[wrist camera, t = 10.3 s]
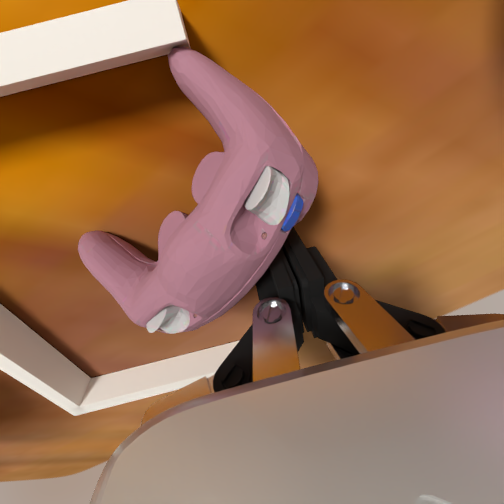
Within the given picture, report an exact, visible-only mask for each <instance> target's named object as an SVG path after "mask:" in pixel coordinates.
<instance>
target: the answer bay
mask: <svg viewBox="0 0 504 504" xmlns="http://www.w3.org/2000/svg"><path fill="white" fill-rule="evenodd" d="M175 47H186V48H189V49H191V47H190V44H189V40H188V36H187V32H186V29H185V25H184V21H183V18H182V14H181V10H180V8H179V5H178V2H177V0H129V1H125V2H121V3H117V4H113V5H109V6H105V7H101V8H97V9H93V10H89V11H85V12H82V13H78V14H74V15H70V16H66V17H62V18H58V19H54V20H50V21H46V22H42V23H38V24H34V25H30V26H26V27H22V28H19V29H15V30H11V31H7V32H3V33H0V97H2V96H6V95H10V94H14V93H17V92H21V91H25V90H29V89H33V88H37V87H41V86H45V85H49V84H53V83H57V82H61V81H65V80H69V79H73V78H77V77H80V76H84V75H88V74H92V73H96V72H100V71H104V70H108V69H112V68H116V67H120V66H124V65H128V64H132V63H136V62H140V61H143V60H147V59H151V58H155V57H159V56H163V55H167V54H169V52H170V51H171V50H172V49H173V48H175ZM239 341H240V340H239ZM239 341H235V342H231V343H227V344H224V345H220V346H216V347H212V348H208V349H204V350H200V351H196V352H192V353H188V354H184V355H180V356H176V357H173V358H169V359H165V360H161V361H157V362H153V363H149V364H145V365H141V366H137V367H133V368H129V369H126V370H122V371H118V372H114V373H110V374H106V375H102V376H98V377H94V378H90V377H89V376H88V375H87V374H85V373H84V372H83V371H82V370H80V369H79V368H78V367H77V366H76V365H74V364H73V363H72V362H71V361H69V360H68V359H67V358H66V357H65V356H63V355H62V354H61V353H60V352H59V351H57V350H56V349H55V348H54V347H52V346H51V345H50V344H49V343H48V342H46V341H45V340H44V339H43V338H42V337H40V336H39V335H38V334H37V333H35V332H34V331H33V330H32V329H31V328H29V327H28V326H27V325H26V324H24V323H23V322H22V321H21V320H20V319H18V318H17V317H16V316H15V315H14V314H12V313H11V312H10V311H9V310H7V309H6V308H5V307H4V306H3V305H1V304H0V370H2V371H4V372H5V373H7V374H8V375H10V376H12V377H13V378H15V379H16V380H18V381H20V382H21V383H23V384H24V385H26V386H28V387H29V388H31V389H32V390H34V391H36V392H37V393H39V394H40V395H42V396H44V397H45V398H47V399H48V400H50V401H52V402H53V403H55V404H56V405H58V406H60V407H61V408H63V409H64V410H66V411H68V412H69V413H71V414H72V415H74V416H76V415H80V414H84V413H88V412H92V411H96V410H100V409H104V408H108V407H111V406H115V405H119V404H123V403H127V402H131V401H135V400H139V399H143V398H147V397H151V396H155V395H158V394H162V393H166V392H170V391H174V390H178V389H181V388H183V387H185V386H187V385H189V384H191V383H193V382H195V381H197V380H199V379H201V378H203V377H205V376H206V377H207V378H209V377H211V376H213V375H215V373H216V371H217V369H218V368H219V366H220V365H221V364H222V363H223V361H224V360H225V359H226V357H227V356H228V355H229V354H230V352H231V351H232V350H233V348H234V347H235V346H236V345H237V343H238V342H239Z"/></svg>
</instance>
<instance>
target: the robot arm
mask: <svg viewBox="0 0 504 504" xmlns="http://www.w3.org/2000/svg"><path fill="white" fill-rule="evenodd" d="M256 287H257V292H258V296H259V300H260V302H259V303H258V304H257V305H256V306H255V308H254V310H253V324H252V325H251V327H250V328H249V329H248V331H247V332H246V333H245V334H244V336H243V337H242V338H241V340H240V341H239V342H238V343H237V345H236V346H235V347H234V348H233V350H232V351H231V352H230V354H229V355H228V356H227V357H226V359H225V360H224V361H223V363H222V364H221V365H220V366H219V368H218V369H217V371H216V373H215V375H213V376H211V377H209V378H207V377H206V376H205V377H203V378H201V379H199V380H197V381H195V382H193V383H191V384H189V385H187V386H185V387H183V388H181V389H179V390H177V391H175V392H173V393H171V394H169V395H167V396H165V397H163V398H161V399H159V400H157V401H156V402H155V403H153V404H152V405H151V406H150V407H149V408H148V409H147V411H146V412H145V414H144V416H143V418H142V421H141V427H139V428H138V429H137V430H136V431H134V432H133V433H132V434H131V435H130V436H129V437H128V438H127V439H125V440H124V441H123V442H122V443H121V444H120V445H119V447H118V448H117V449H116V450H115V451H114V453H113V454H112V455H111V457H110V459H109V460H108V462H107V464H106V466H105V467H104V469H103V472H102V474H101V476H100V478H99V480H98V483H97V485H96V488H95V490H94V493H93V495H92V498H91V501H90V504H504V314H478V315H460V316H459V315H457V316H437V319H434V320H433V319H432V318H430V317H427V316H425V315H422V314H419V313H416V312H412V311H409V310H406V309H403V308H399V307H396V306H393V305H390V304H386V303H383V302H380V301H377V300H374V299H373V298H372V297H371V296H370V295H369V294H368V293H367V292H366V291H365V290H364V289H363V288H362V287H361V286H360V285H358V284H357V283H355V282H353V281H350V280H337V278H336V277H335V275H334V274H333V272H332V271H331V269H330V268H329V266H328V265H327V263H326V262H325V260H324V259H323V257H322V256H321V254H320V253H319V251H318V250H317V248H316V247H310V248H306V247H305V246H304V244H303V242H302V241H301V239H300V237H299V236H298V234H297V232H296V231H295V229H294V227H292V228H291V230H290V232H289V234H288V236H287V238H286V240H285V242H284V244H283V246H282V247H281V249H280V251H279V252H278V254H277V255H276V257H275V258H274V260H273V261H272V263H271V264H270V266H269V267H268V268H267V270H266V271H265V273H264V274H263V276H262V277H261V278H260V279H259V280H258V281H257V282H256ZM303 323H304V325H305V328H306V330H307V332H309V331H312V334H313V336H314V338H316V337H318V338H319V339H322V340H324V341H326V344H327V346H328V348H329V349H330V351H331V353H332V354H333V356H334V357H335V359H336V360H335V361H331V362H328V363H324V364H320V365H316V366H312V367H308V368H304V369H300V363H299V357H298V351H299V349H300V347H301V346H302V344H303V342H304V340H303V333H304V328H303Z"/></svg>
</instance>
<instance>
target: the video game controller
mask: <svg viewBox="0 0 504 504" xmlns="http://www.w3.org/2000/svg"><path fill="white" fill-rule="evenodd" d="M168 61H169V66H170V70H171V72H172V74H173V76H174V78H175V80H176V82H177V84H178V86H179V88H180V89H181V90H182V92H183V93H184V94H185V95H186V96H187V97H188V98H189V100H190V101H191V102H192V103H193V104H194V105H195V106H196V107H197V109H198V110H199V111H200V112H201V113H202V114H203V115H204V116H205V118H206V119H207V120H208V121H209V122H210V124H211V126H212V127H213V129H214V130H215V132H216V133H217V135H218V136H219V138H220V139H221V141H222V143H223V147H224V151H225V153H224V152H212V153H210V154H208V155H207V156H206V157H205V158H204V159H203V160H202V161H201V162H200V164H199V166H198V168H197V169H196V172H195V175H194V178H193V182H192V194H193V197H194V200H195V201H196V202H197V203H198V205H197V207H196V208H195V209H194V210H193V211H192V213H191V214H190V215H187V214H185V213H183V212H180V211H174V212H172V213H170V214H169V215H168V216H167V217H166V218H165V219H164V221H163V223H162V225H161V227H160V231H159V235H158V251H159V256H158V261H157V262H155V261H153V260H151V259H149V258H148V257H146V256H145V255H144V254H142V253H141V252H140V251H139V250H137V249H136V248H135V247H133V246H132V245H131V244H129V243H127V242H125V241H124V240H122V239H120V238H119V237H117V236H114V235H112V234H109V233H105V232H103V231H91V232H87V233H85V234H84V235H82V237H81V239H80V240H79V243H78V251H79V254H80V258H81V260H82V262H83V263H84V265H85V266H86V268H87V269H88V270H89V271H90V272H91V273H92V275H93V276H94V277H95V278H96V279H97V280H98V281H99V282H100V283H101V284H102V285H103V286H104V287H105V288H106V289H107V290H108V291H109V292H110V293H111V294H112V296H113V297H114V298H115V299H116V301H117V302H118V303H119V305H120V306H121V307H122V309H123V310H124V312H125V313H126V314H127V316H128V317H129V318H130V319H131V320H132V321H133V322H134V323H135V324H137V325H139V326H142V327H145V328H147V330H148V331H149V332H150V333H152V332H154V331H159V332H163V333H168V334H169V333H178V332H186V331H193V330H196V329H198V328H200V327H201V326H203V325H205V324H207V323H209V322H211V321H213V320H215V319H216V318H218V317H220V316H222V315H223V314H224V313H225V312H227V311H228V310H229V309H230V308H232V307H233V306H234V305H235V304H237V303H238V302H239V301H240V300H241V299H242V298H243V297H244V296H245V295H246V294H247V293H248V292H249V291H250V289H251V288H252V287H253V286H254V285H255V284H256V282H257V281H258V280H259V279H260V278H261V277H262V276H263V274H264V273H265V271H266V270H267V268H268V267H269V266H270V264H271V263H272V261H273V260H274V258H275V257H276V255H277V254H278V252H279V251H280V249H281V247H282V246H283V244H284V242H285V240H286V238H287V236H288V234H289V232H290V230H291V228H292V227H293V226H295V225H296V224H297V223H299V222H300V221H301V220H302V219H303V217H304V216H305V215H306V213H307V212H308V211H309V209H310V207H311V205H312V203H313V201H314V198H315V195H316V192H317V186H318V171H317V168H316V165H315V163H314V161H313V159H312V158H311V156H310V155H309V154H308V153H307V151H306V150H305V149H304V148H303V146H302V145H301V144H300V142H299V140H298V139H297V138H296V136H295V135H294V133H293V132H292V131H291V129H290V128H289V127H288V125H287V124H286V122H285V121H284V120H283V119H282V118H281V116H280V115H279V114H278V113H277V112H276V111H275V110H274V109H273V107H271V106H270V105H269V104H268V103H267V102H266V101H265V100H264V99H263V98H262V97H261V96H260V95H259V94H257V93H256V92H255V91H253V90H252V89H251V88H249V87H248V86H246V85H245V84H244V83H242V82H241V81H240V80H238V79H237V78H235V77H234V76H233V75H231V74H230V73H228V72H227V71H226V70H224V69H223V68H222V67H220V66H219V65H217V64H216V63H215V62H213V61H212V60H210V59H209V58H207V57H206V56H204V55H202V54H200V53H199V52H197V51H195V50H192V49H189V48H186V47H175V48H173V49H172V50H171V51H170V52H169V54H168Z"/></svg>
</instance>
